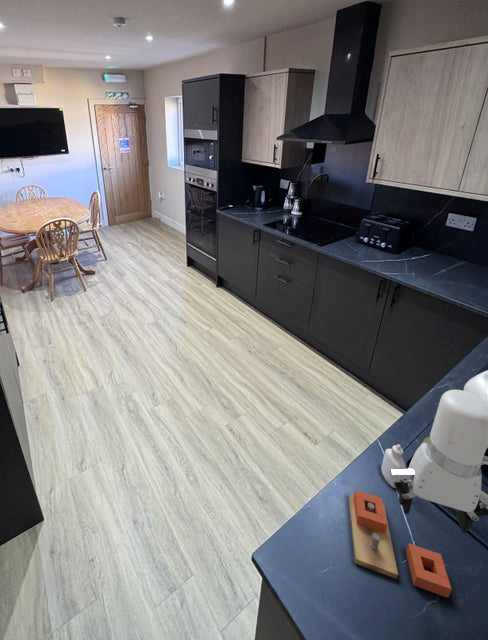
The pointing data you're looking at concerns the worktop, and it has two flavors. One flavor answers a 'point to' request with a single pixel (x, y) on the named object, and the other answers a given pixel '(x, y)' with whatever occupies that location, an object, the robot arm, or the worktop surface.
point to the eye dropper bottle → (392, 462)
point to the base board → (372, 545)
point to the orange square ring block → (425, 579)
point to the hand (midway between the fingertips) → (432, 515)
